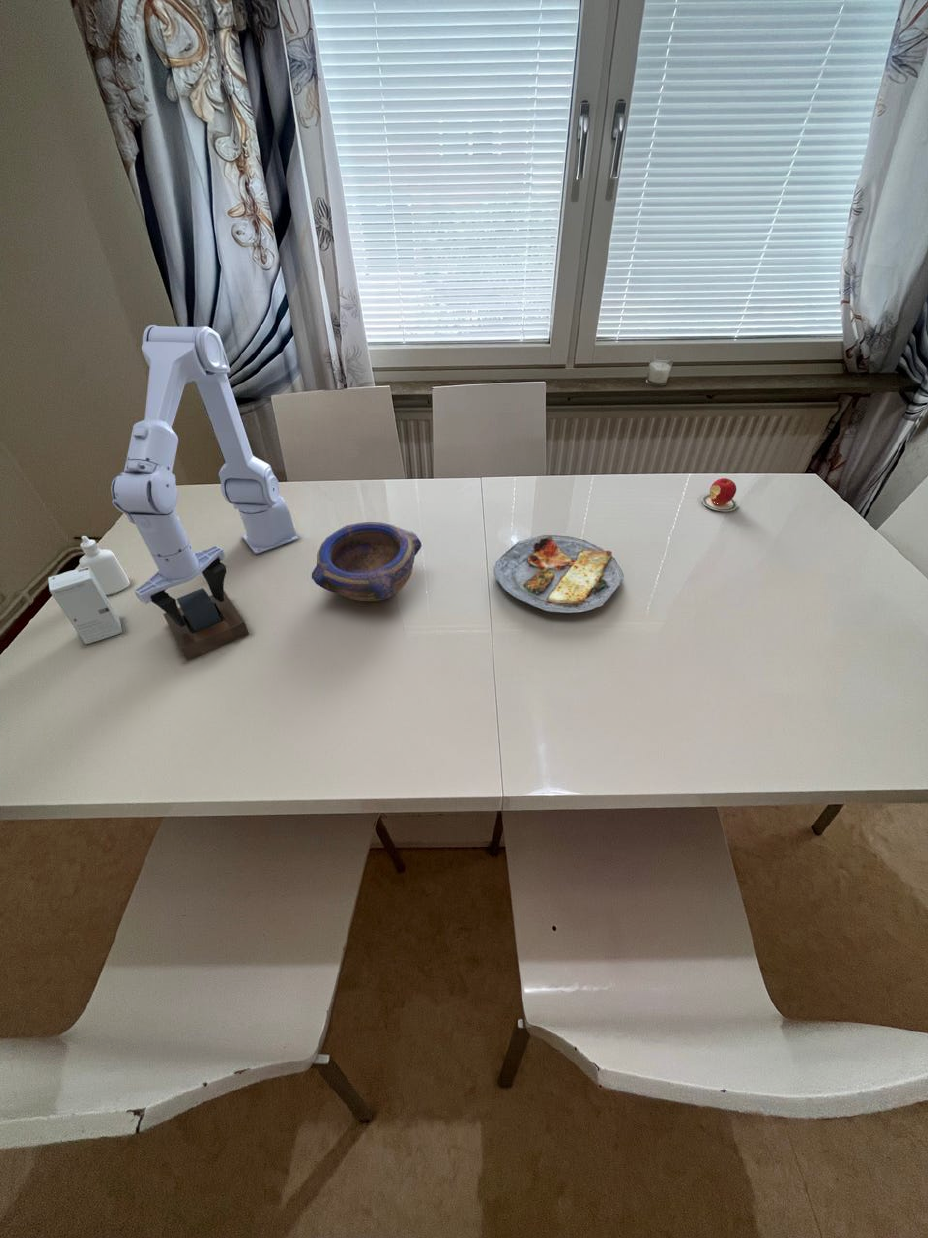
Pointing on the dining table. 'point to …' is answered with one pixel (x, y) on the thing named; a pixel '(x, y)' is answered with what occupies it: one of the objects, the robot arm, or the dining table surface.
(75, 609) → the cosmetic box
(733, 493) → the apple
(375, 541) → the bowl
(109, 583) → the eye dropper bottle
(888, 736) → the dining table surface
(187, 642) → the frame
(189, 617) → the dark grey rectangular block
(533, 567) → the food plate
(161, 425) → the robot arm
